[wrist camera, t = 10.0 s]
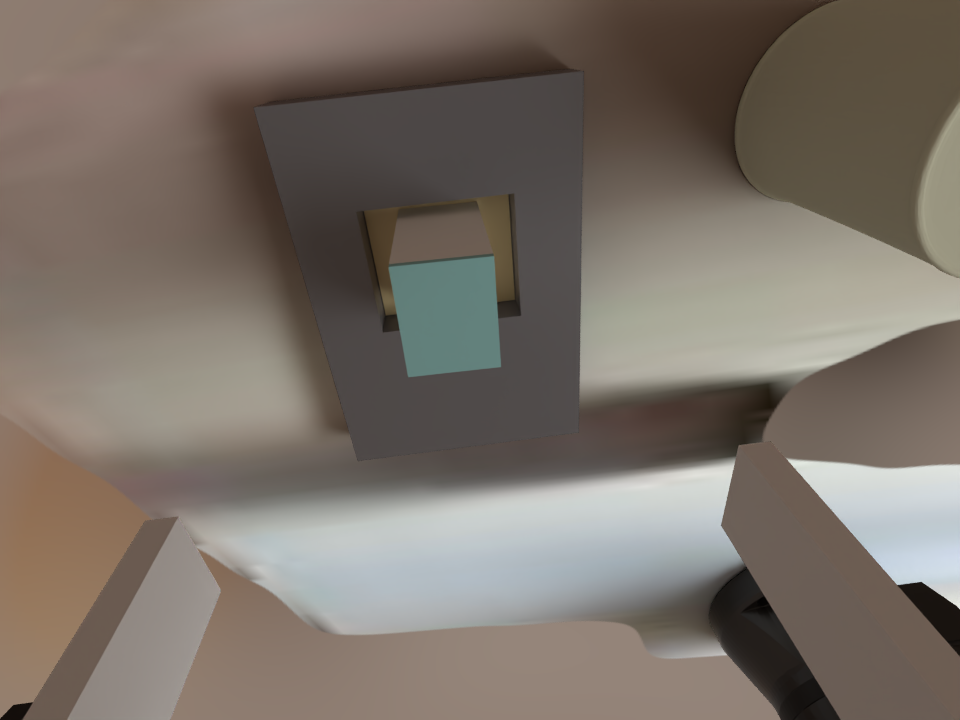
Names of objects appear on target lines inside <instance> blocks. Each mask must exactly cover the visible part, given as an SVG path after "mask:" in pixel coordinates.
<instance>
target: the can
mask: <svg viewBox="0 0 960 720" xmlns="http://www.w3.org/2000/svg"><path fill="white" fill-rule="evenodd" d="M735 149H736V155H737V158H738V162H739V165H740V167H741V169H742V171H743V173H744V175H745V176H746V178H747V179H748V181H749V182H750V183H751V184H752V185H753V186H754V187H755V188H756V189H757V190H758V191H760V192H761V193H763V194H764V195H766V196H768V197H770V198H773V199H776V200H779V201H784V202H790V203H793V204H795V205H798V206H800V207H803V208H805V209H808V210H810V211H813V212H815V213H817V214H820V215H822V216H824V217H827V218H829V219H831V220H834V221H836V222H838V223H841V224H843V225H845V226H848V227H850V228H852V229H854V230H857V231H859V232H861V233H864V234H866V235H868V236H870V237H873V238H875V239H877V240H879V241H882V242H884V243H886V244H888V245H890V246H893V247H895V248H897V249H899V250H901V251H904V252H906V253H908V254H910V255H912V256H915V257H917V258H919V259H921V260H923V261H925V262H927V263H929V264H931V265H933V266H935V267H936V268H937V269H939V270H940V271H942V272H944V273H946V274H949V275H951V276H954V277H957V278H960V0H837V1H834V2H831V3H828V4H826V5H824V6H821V7H819V8H817V9H815V10H814V11H812V12H810V13H808V14H807V15H805V16H804V17H802V18H801V19H800V20H798V21H797V22H795V23H794V24H793V25H792V26H791V27H789V28H788V29H787V30H786V31H785V32H784V33H783V34H782V35H781V36H780V37H779V38H778V39H777V40H776V41H775V42H774V43H773V44H772V45H771V46H770V48H769V49H768V50H767V51H766V53H765V54H764V55H763V57H762V58H761V60H760V61H759V63H758V64H757V66H756V67H755V69H754V71H753V73H752V74H751V76H750V78H749V80H748V82H747V84H746V87H745V89H744V91H743V94H742V97H741V100H740V103H739V107H738V111H737V116H736V123H735Z"/></svg>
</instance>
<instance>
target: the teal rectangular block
mask: <svg viewBox="0 0 960 720" xmlns="http://www.w3.org/2000/svg"><path fill="white" fill-rule="evenodd" d="M389 273H390V279H391V284H392V290H393V295H394V301H395V306H396V312H397V318H398V323H399V329H400V334H401V340H402V345H403V351H404V357H405V362H406V368H407V373H408V377H415V376H424V375H433V374H442V373H451V372H460V371H470V370H479V369H488V368H497V367H501V358H500V342H499V326H498V310H497V294H496V278H495V262H494V254H493V251H492V248H491V245H490V241H489V238H488V235H487V232H486V229H485V226H484V223H483V219H482V216H481V213H480V210H479V207H478V204H477V201H476V202H466V203H456V204H446V205H436V206H426V207H416V208H406V209H399V210H398V216H397V221H396V227H395V233H394V238H393V244H392V250H391V255H390V261H389Z"/></svg>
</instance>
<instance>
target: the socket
mask: <svg viewBox="0 0 960 720" xmlns="http://www.w3.org/2000/svg"><path fill="white" fill-rule="evenodd" d="M583 93H584V71H581V70H574V69H563V70H554V71H545V72H536V73H527V74H518V75H509V76H500V77H491V78H482V79H473V80H464V81H455V82H446V83H437V84H427V85H418V86H409V87H400V88H391V89H382V90H373V91H364V92H355V93H346V94H337V95H328V96H319V97H310V98H301V99H292V100H283V101H274V102H268V103H265V104H262V105H259V106H256V107H254V111H255V115H256V118H257V121H258V125H259V128H260V132H261V135H262V138H263V142H264V145H265V148H266V152H267V155H268V159H269V162H270V165H271V169H272V172H273V176H274V179H275V182H276V186H277V189H278V193H279V196H280V199H281V203H282V206H283V209H284V213H285V216H286V220H287V223H288V226H289V230H290V233H291V237H292V240H293V243H294V247H295V250H296V254H297V257H298V260H299V264H300V267H301V270H302V274H303V277H304V281H305V284H306V287H307V291H308V294H309V298H310V301H311V304H312V308H313V311H314V315H315V318H316V321H317V325H318V328H319V331H320V335H321V338H322V342H323V345H324V348H325V352H326V355H327V359H328V362H329V365H330V369H331V372H332V376H333V379H334V382H335V386H336V389H337V392H338V396H339V399H340V403H341V406H342V409H343V413H344V416H345V420H346V423H347V426H348V430H349V433H350V437H351V440H352V443H353V447H354V450H355V453H356V457H357V460H358V461H362V460H370V459H378V458H386V457H393V456H401V455H409V454H417V453H424V452H432V451H440V450H448V449H455V448H463V447H471V446H479V445H486V444H494V443H502V442H510V441H517V440H525V439H533V438H541V437H548V436H556V435H564V434H572V433H579V379H580V308H581V236H582V165H583ZM476 201H477V204H478V207H479V210H480V213H481V216H482V219H483V223H484V226H485V229H486V232H487V235H488V238H489V241H490V245H491V248H492V251H493V254H494V262H495V278H496V294H497V310H498V326H499V342H500V358H501V367H497V368H488V369H479V370H470V371H460V372H451V373H442V374H433V375H424V376H415V377H408V373H407V368H406V362H405V357H404V351H403V345H402V340H401V334H400V329H399V323H398V318H397V312H396V306H395V301H394V295H393V290H392V284H391V279H390V273H389V261H390V255H391V250H392V244H393V238H394V233H395V227H396V221H397V216H398V210H399V209H406V208H416V207H426V206H436V205H446V204H456V203H466V202H476Z"/></svg>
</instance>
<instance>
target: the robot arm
mask: <svg viewBox="0 0 960 720" xmlns="http://www.w3.org/2000/svg"><path fill="white" fill-rule="evenodd" d="M721 526H722V528H723V529H724V531H725V532H726V534H727V536H728V537H729V539H730V541H731V542H732V544H733V545H734V547H735V549H736V550H737V552H738V554H739V555H740V557H741V558H742V560H743V562H744V563H745V565H746V567H747V568H748V569H746V570H745V571H743V572H742V573H740V574H739V575H737V576H736V577H735V578H734V579H732V580H731V581H730V582H729V583H728V584H727V585H726V586H725V587H724V588H723V589H722V590H721V591H720V592H719V594H718V595H717V596H716V598H715V599H714V601H713V603H712V605H711V608H710V612H709V621H710V624H711V627H712V629H713V631H714V633H715V635H716V637H717V639H718V641H719V643H720V645H721V647H722V648H723V650H724V651H725V652H726V654H727V655H728V656H729V657H730V658H731V659H732V660H733V662H734V663H735V664H736V665H737V666H738V667H739V668H740V669H741V670H742V672H743V673H744V674H745V675H746V676H747V677H748V678H749V679H750V681H751V682H752V683H753V684H754V685H755V686H756V687H757V688H758V690H759V691H760V692H761V693H762V694H763V695H764V696H765V697H766V698H767V700H769V702H770V703H771V704H772V705H773V707H774V708H775V710H776V711H777V713H778V715H779V717H780V719H781V720H960V609H959V608H958V607H957V606H956V605H954V604H953V603H951V602H950V601H948V600H947V599H945V598H944V597H943V596H941V595H940V594H938V593H937V592H935V591H934V590H932V589H931V588H929V587H928V586H927V585H925V584H924V583H922V582H918V583H910V584H903V585H897V584H896V583H895V582H894V581H893V580H892V579H891V578H890V576H889V575H888V574H887V573H886V572H885V571H884V570H883V568H882V567H881V566H880V565H879V564H878V563H877V562H876V561H875V559H874V558H873V557H872V556H871V555H870V554H869V553H868V551H867V550H866V549H865V548H864V547H863V546H862V545H861V543H860V542H859V541H858V540H857V539H856V538H855V537H854V535H853V534H852V533H851V532H850V531H849V530H848V529H847V527H846V526H845V525H844V524H843V523H842V522H841V521H840V520H839V518H838V517H837V516H836V515H835V514H834V513H833V512H832V510H831V509H830V508H829V507H828V506H827V505H826V504H825V502H824V501H823V500H822V499H821V498H820V497H819V496H818V494H817V493H816V492H815V491H814V490H813V489H812V488H811V487H810V485H809V484H808V483H807V482H806V481H805V480H804V479H803V477H802V476H801V475H800V474H799V473H798V472H797V471H796V469H795V468H794V467H793V466H792V465H791V464H790V463H789V461H788V460H787V459H786V458H785V457H784V456H783V455H782V454H781V452H780V451H779V450H778V449H777V448H776V447H775V446H774V444H773V443H772V442H771V441H769V442H761V443H753V444H745V445H739V447H738V452H737V456H736V461H735V465H734V470H733V474H732V479H731V483H730V488H729V492H728V497H727V501H726V506H725V510H724V515H723V519H722V524H721ZM220 592H221V590H220V588H219V586H218V584H217V583H216V581H215V579H214V577H213V576H212V574H211V572H210V571H209V569H208V567H207V565H206V564H205V562H204V560H203V559H202V557H201V555H200V553H199V552H198V550H197V548H196V546H195V544H194V543H193V541H192V539H191V537H190V536H189V534H188V532H187V530H186V529H185V527H184V525H183V523H182V522H181V520H180V518H179V517H171V518H163V519H155V520H147V521H145V522H144V523H143V525H142V527H141V528H140V530H139V531H138V533H137V535H136V536H135V538H134V540H133V541H132V543H131V544H130V546H129V548H128V549H127V551H126V553H125V554H124V556H123V558H122V559H121V561H120V562H119V564H118V565H117V567H116V569H115V571H114V572H113V574H112V575H111V577H110V578H109V580H108V582H107V583H106V585H105V587H104V588H103V590H102V591H101V593H100V595H99V596H98V598H97V600H96V601H95V603H94V604H93V606H92V608H91V609H90V611H89V613H88V614H87V616H86V618H85V619H84V621H83V623H82V624H81V626H80V627H79V629H78V630H77V632H76V634H75V635H74V637H73V639H72V640H71V642H70V643H69V645H68V647H67V649H66V650H65V652H64V653H63V655H62V657H61V658H60V660H59V661H58V663H57V665H56V666H55V668H54V670H53V671H52V673H51V674H50V676H49V678H48V679H47V681H46V683H45V684H44V686H43V687H42V689H41V690H40V692H39V694H38V695H37V697H36V699H35V700H34V702H32V703H25V704H17V705H13V706H12V707H11V708H10V709H9V710H8V711H7V712H6V713H5V714H4V715H3V717H1V719H0V720H170V719H171V716H172V714H173V712H174V709H175V706H176V704H177V701H178V699H179V696H180V694H181V691H182V689H183V686H184V684H185V681H186V678H187V676H188V673H189V671H190V668H191V666H192V663H193V661H194V658H195V656H196V653H197V651H198V648H199V645H200V643H201V640H202V638H203V635H204V633H205V630H206V628H207V625H208V622H209V620H210V618H211V615H212V612H213V610H214V607H215V605H216V602H217V600H218V597H219V595H220Z"/></svg>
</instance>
